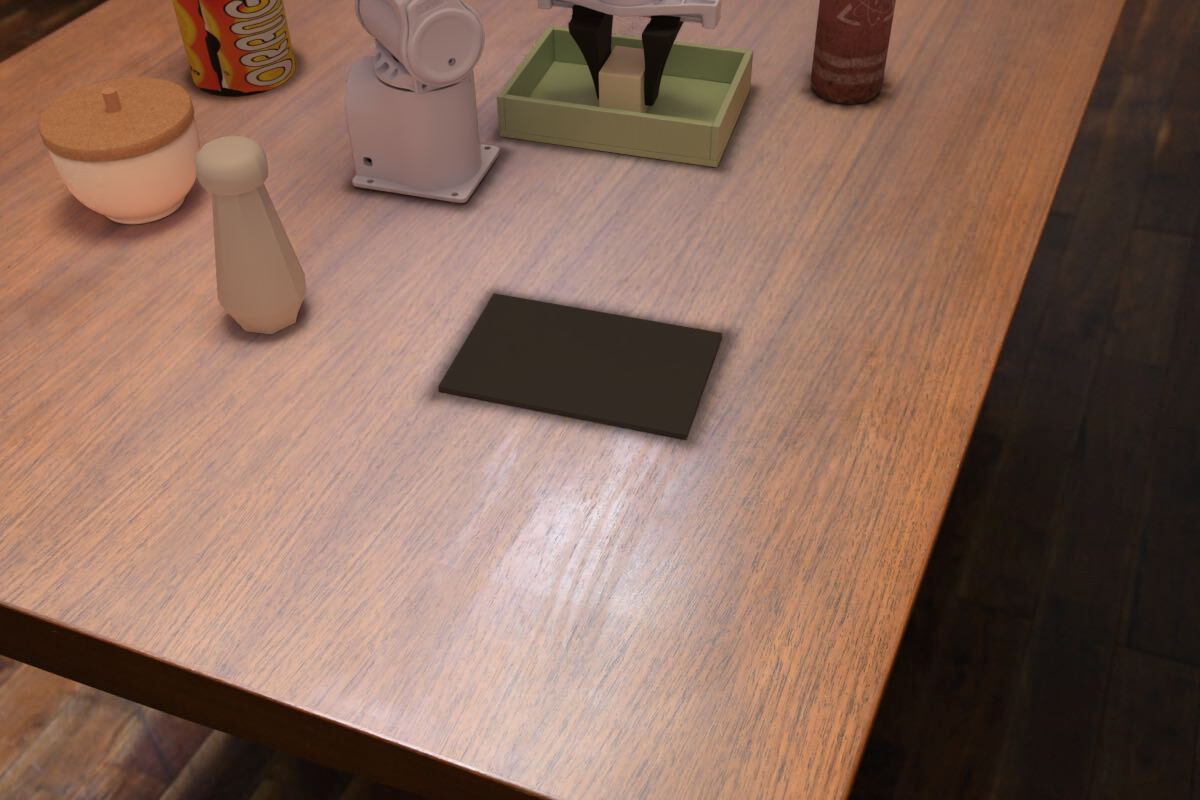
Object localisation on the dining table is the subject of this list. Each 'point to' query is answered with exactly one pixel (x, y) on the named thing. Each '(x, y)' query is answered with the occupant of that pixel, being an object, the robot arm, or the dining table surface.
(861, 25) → the can
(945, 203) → the dining table surface
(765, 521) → the dining table surface
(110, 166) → the trinket box
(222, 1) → the beverage can
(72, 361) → the dining table surface
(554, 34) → the bin
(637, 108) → the tan wooden block
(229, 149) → the salt shaker
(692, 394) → the mat
